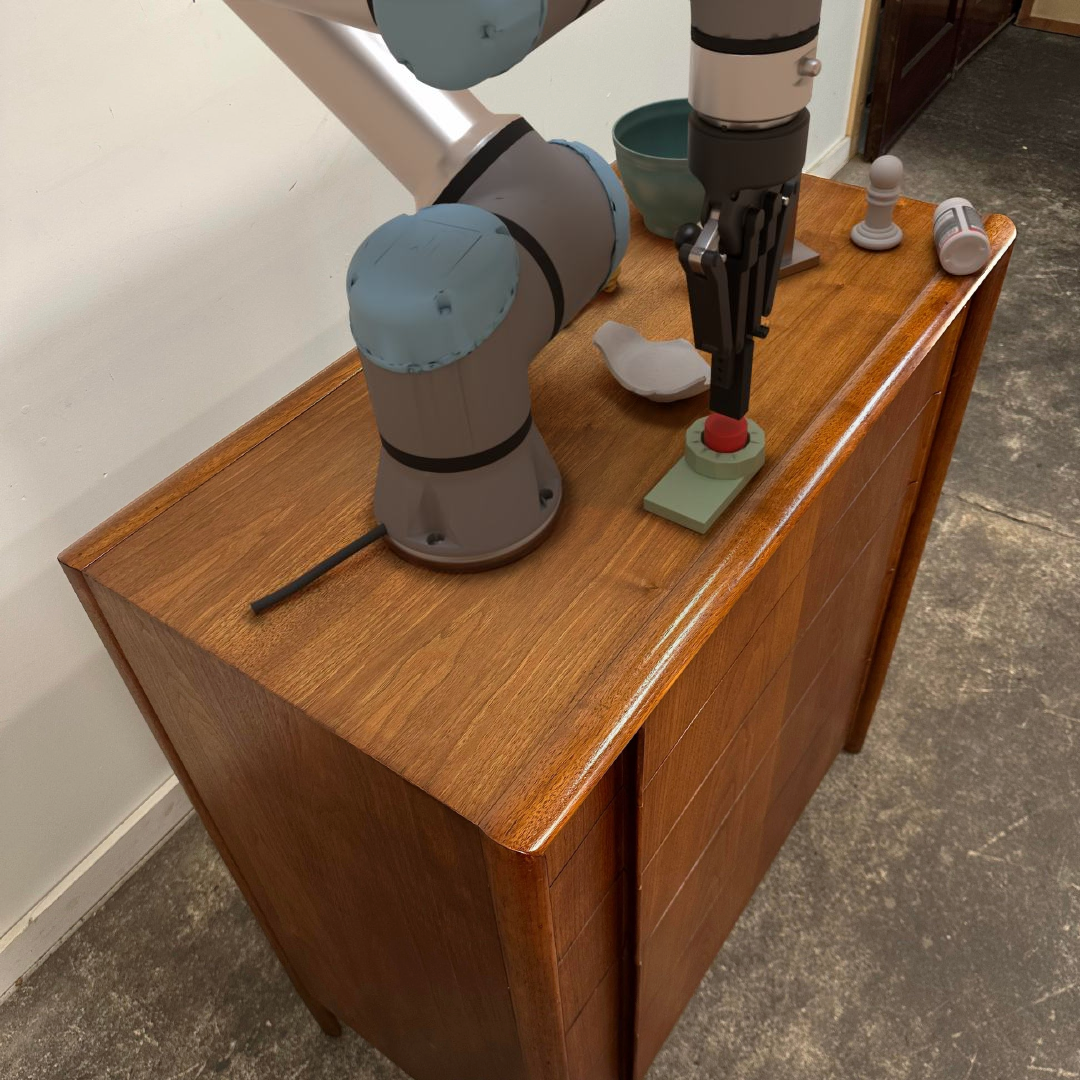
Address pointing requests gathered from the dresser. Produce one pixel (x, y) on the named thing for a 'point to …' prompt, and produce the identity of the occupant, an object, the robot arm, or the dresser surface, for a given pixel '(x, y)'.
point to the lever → (686, 235)
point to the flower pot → (658, 165)
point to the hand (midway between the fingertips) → (728, 410)
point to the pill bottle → (960, 237)
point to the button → (725, 433)
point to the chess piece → (880, 206)
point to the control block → (705, 479)
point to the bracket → (796, 247)
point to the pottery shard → (652, 364)
